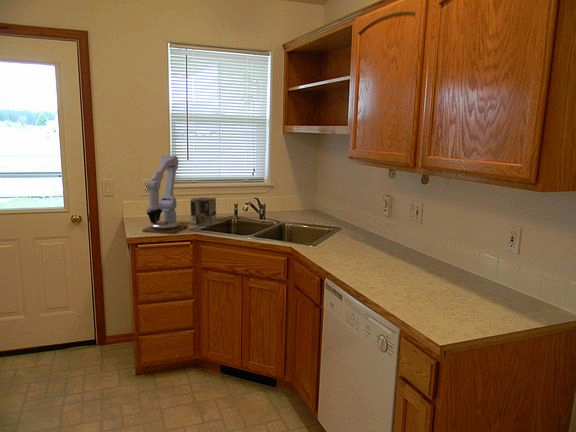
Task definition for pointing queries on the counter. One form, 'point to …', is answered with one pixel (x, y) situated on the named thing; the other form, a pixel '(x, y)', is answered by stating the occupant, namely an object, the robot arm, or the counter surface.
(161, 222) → the handwheel
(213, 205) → the dark piece
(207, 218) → the coffee box
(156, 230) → the wheel base
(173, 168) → the robot arm
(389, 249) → the counter surface
